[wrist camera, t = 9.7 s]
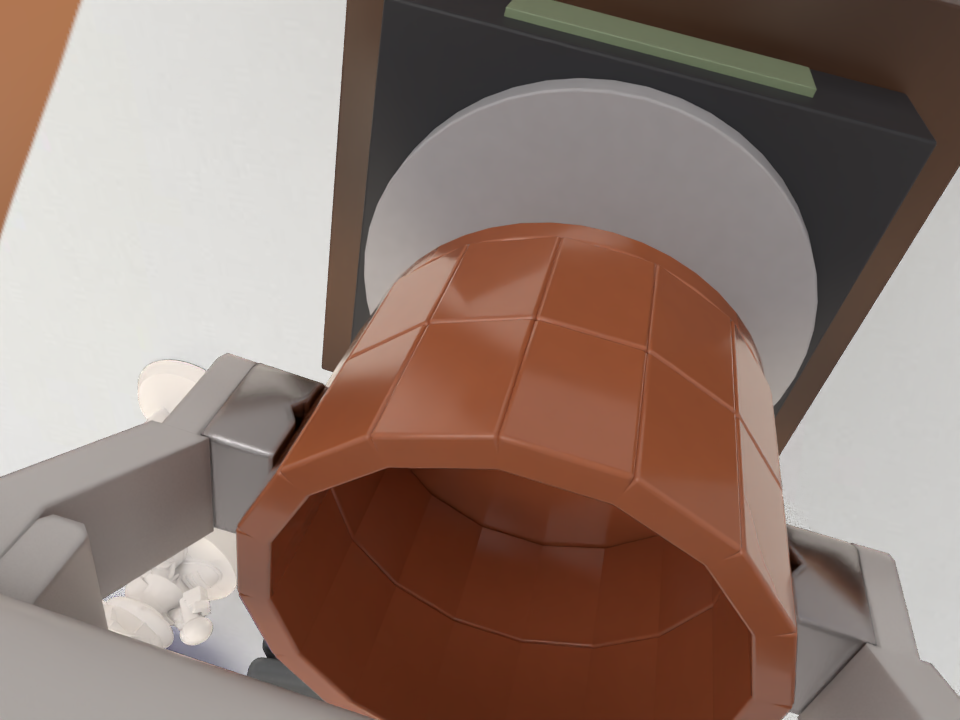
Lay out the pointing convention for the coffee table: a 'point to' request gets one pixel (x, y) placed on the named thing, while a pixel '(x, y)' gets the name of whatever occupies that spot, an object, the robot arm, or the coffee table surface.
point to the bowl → (534, 498)
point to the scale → (634, 156)
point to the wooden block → (739, 24)
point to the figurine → (165, 387)
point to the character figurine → (177, 593)
